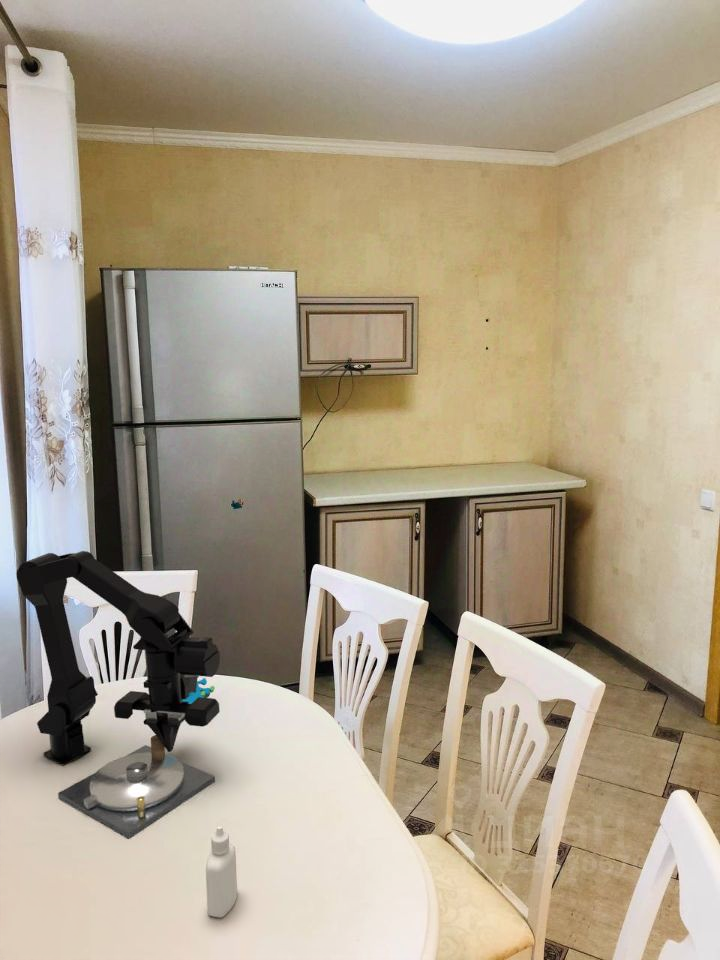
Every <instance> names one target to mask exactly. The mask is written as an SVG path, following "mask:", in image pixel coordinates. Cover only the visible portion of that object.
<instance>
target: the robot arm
mask: <svg viewBox="0 0 720 960" xmlns="http://www.w3.org/2000/svg"><path fill="white" fill-rule="evenodd" d="M15 574H16V579H17V582H18V583H17V584H18V586H19V587H20V590H21V592H22V593H21V594H22V595H23V597H24V598H25V599H26V600H28V602H29V603H30V604H31V605H32V606H34V609H35V614H36V616H37V617H36V618H37V621H38V626H39V630H40V635H41V639H42V643H43V646H44V651H45V657H46V660H47V666H48V668H49V672H50V673H49V674H50V676H51V677H50V678H51V681H50V684H49V688H48V693H47V698H46V700H47V710H48V711H47V712H46V713H45V714H44V715H43V716H42V717H41V718H40V719H39V720H38V721H37V722H36V724H37V728H38V730H39V733H40V734H45V735H49V746H50V747H49V748H50V749H48V750H46V751H44V752H43V754H42V755H43V757H46V758H48V759H49V760H50V761H53V762H55V763H57V764H58V765H61V766H64V765H67V764H68V763H70V762H73V761H74V760H76V759H78V758H80V757H82V756H84V755H86V754H88V753H90V752H92V747H90V746H88V745H86V744H85V740H84V739H85V737H84V732H83V731H84V730H83V724H82V720H83V719H85V718H87V717H88V716H89V715H90V712H91V710H92V709H93V708H94V706H95V704H96V703H97V702H96V701H97V700H96V697H97V696H98V695H99V694H98V692H97V690H96V688H95V680H94V677H93V676H88V677H87V676H86V675H85V674H83V673H82V672H81V670H80V668H79V664H78V659H77V655H76V651H75V647H74V643H73V637H72V634H71V628H70V625H69V621H68V616H67V612H66V607H65V603H64V602H65V601H64V596H65V592H66V588H67V584H68V579H69V578H73V579H75V580H76V581H78V582H79V583H80V584H82V585H83V586H85V587H86V588H87V589H89V590H90V591H92V592H93V593H94V594H96V595H97V596H99V597H100V598H101V599H103V600H104V601H106V603H108V604H110V605H111V606H112V607H114V608H115V609H117V610H118V611H119V612H121V614H122V615H124V616H125V619H126V621H127V623H128V625H129V627H130V628H131V629H132V630H133V631H134V632H135V633H136V634H137V635H138V636H139V637H140V638H139V640H138V641H136V643H135V644H134V645H133V646H132V649H134V650H138V651H139V650H141V651H144V658H145V666H146V667H145V669H146V670H145V671H146V680H145V681H144V682H143V683H142V684H143V688H144V689H148V690H147V691H148V693H147V692H146V691H135V690H130V691H128V693H126V694H125V695H124V696H122V697H121V698H119V699H118V700H117V701H116V702H115V704H114V706H113V710H114V711H113V713H114V717H115V718H116V719H125V720H128V719H129V718H131V717H132V715H134V711H142V712H143V713H144V715H145V716H144V717H145V719H144V720H143V725H146V726H148V727H149V729H150V730H151V731H152V733H154V735H156V736H157V737H158V738H159V740H160V741H161V742H162V744H163V745H164V747H165V751H167V752H168V753H171V752H172V751H173V750H174V747H175V743H176V739H177V735H178V733H179V729H180V726H181V725H182V723H183V722H186V724H187V725H188V726H191V727H192V726H194V727H205V726H208V725H209V724H210V723H211V722H212V720H213V719H215V718H216V717H217V715H218V714H219V713H220V711H221V710H220V702H219V701H218V700H217V699H216V698H213V697H211V698H210V697H208V698H202V697H198V698H197V699H196V700H195V701H194V702H193V703H192V704H189V702H183V701H182V700H183V699H187V698H188V697H189V693H191V692H193V693H196V689H197V681H198V678H199V677H204V678H212V677H214V676H215V675H216V673H217V672H218V670H219V667H220V662H221V661H220V660H221V654H220V652H221V651H220V650H219V649H218V647H217V645H216V644H214V643H213V638H212V637H211V636H210V637H209V636H208V637H206V636H205V637H204V636H203V637H192V636H193V635H194V634H195V633H194V630H193V629H192V628H191V627H190V625H189V624H188V622H187V621H186V620H185V618H184V617H183V616H182V615H181V613H180V611H179V608H178V605H176V604H175V603H174V602H172V601H171V600H168V599H166V598H164V597H162V596H160V595H157V594H153V593H148V592H144V591H143V590H140V589H139V588H137V587H136V586H135V585H133V584H132V583H130V582H129V581H127V580H126V579H125V578H123V577H122V576H120V575H119V574H118V573H116V572H115V571H113V570H112V569H110V568H109V567H107V566H106V565H105V564H103V563H102V562H101V561H98V560H97V559H96V558H95V556H94V555H93V554H92V553H91V552H89V551H85V550H80V551H78V552H74V553H73V552H72V553H71V552H70V553H65V554H61V555H58V554H56V553H53V552H48V553H44V554H42V555H40V556H36V557H35V558H32V559H29V560H27V561H24V562H22V563H21V564H20V565H19V567H18V569H17V570H16V573H15ZM173 630H175V632H174V633H172V634H171V635H170V636H169V637H167V636H166V635H167V634H169V633H171V632H172V631H173ZM198 676H199V677H198Z"/></svg>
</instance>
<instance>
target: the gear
mask: <svg viewBox="0 0 720 960" xmlns="http://www.w3.org/2000/svg"><path fill="white" fill-rule="evenodd" d="M199 677H200V676H198V678H199ZM206 678H207V677H203V678H202V679H201V680H199V681H198V680H197V689H196V693H193V692H191V693H189V697H188V698H187V699H183V700H182V701H183V702H189V704H192V703H193V702H194V701H195V700H196V699H197V698H198V697H202V698H210V696H211V693H214V691H215V686H214V685H211V686H210V687H205V688H204V687H201V686H199V685H202V686H206V685H207V682H208V681H207V679H206Z"/></svg>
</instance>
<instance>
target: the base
mask: <svg viewBox="0 0 720 960" xmlns="http://www.w3.org/2000/svg"><path fill="white" fill-rule="evenodd" d="M147 752H151V746H150V745H146V744H144V745H143V746H141V747H139V748H137V749H136V750H134V751H132V752H131V753H128V754H127V755H126V756H128V755H132V754H137V753H147ZM176 759H177V760H179V761H180V763H181V764H182V766H183V769H184V780H183V783H182V785H181V787H180V788H179V790H178V791H177V792H176V793H175V794H173V795H172V796H171V797H169V798H168V799H166V800H164V801H163V802H161V803H158V804H156V805H154V806H151V807H147V808H145V800H144V797H142V796H141V797H138V798H137V810H133V811H114V810H109V809H105V808H102V807H100V806H98V805H96V806H94V807H92V808H90V809H87V808H86V807H85V806H84V799H85V798H87V797H90V781H91V779H92V777H93V776H94V774H95V773H96V772H94V773H92V774H91V775H88V776H86V777H85V778H83V779H81V780H79V781H77V782H76V783H74V784H72V785H70V786H69V787H67V788H65V789H63V790H61V791H60V792H57V796H58V799H59V800H61V801H63V802H64V803H65V804H68V805H70V806H71V807H73V808H75V809H76V810H77V811H80V812H81V813H83V814H85V815H87V816H88V817H90V818H91V819H94V820H95V821H97V822H99V823H101V824H103V825H104V826H105V827H108V828H109V829H111V830H113V831H114V832H116V833H118V834H120V835H121V836H123V837H125V838H127V839H130V838H131V837H134V836H135V835H136V834H138V833H139V832H141V831H142V830H144V829H145V828H147V827H149V826H150V825H151V824H153V823H154V822H156V821H157V820H159V819H161V818H162V817H164V816H165V815H167V814H169V813H170V812H171V811H172V810H174V809H175V808H178V807H179V806H180V805H182V804H183V803H185V802H187V801H188V800H189V799H191V798H192V797H194V796H195V795H196V794H199V792H201V791H202V790H204V789H206V788H207V787H209V786H210V785H212V784H213V783H215V781H216V779H215V777H216V776H214V775H213V774H211V773H208V772H206V771H203V770H202V769H199V768H197V767H195V766H193V765H191V764H188V763H187V762H185V761H181V760H180V759H178V758H176Z"/></svg>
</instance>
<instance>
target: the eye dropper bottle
mask: <svg viewBox="0 0 720 960" xmlns="http://www.w3.org/2000/svg"><path fill="white" fill-rule="evenodd" d="M210 840H211V841H210V842H211V844H210V845H211V850H210V853H209V855H208V856H207V860H206V864H205V880H206V883H205V884H206V886H205V887H206V907H207V908H206V909H207V914H208V916H210V917H215V918H223V917H224V916H226V915H227V914H228V913H229V912H230V911H231V910H232V909H233V907H234V905H235V903H236V901H237V898H238V897H237V896H238V880H237V879H238V877H237V876H238V875H237V855H236V851H237V850H236V846H235V845H234V844H232V843H230V835H229V833H228V832H227V831H224V829H223V826H222V825H218V826H217V827H216V832H214V833H213V834H212V835H211V836H210Z"/></svg>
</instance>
